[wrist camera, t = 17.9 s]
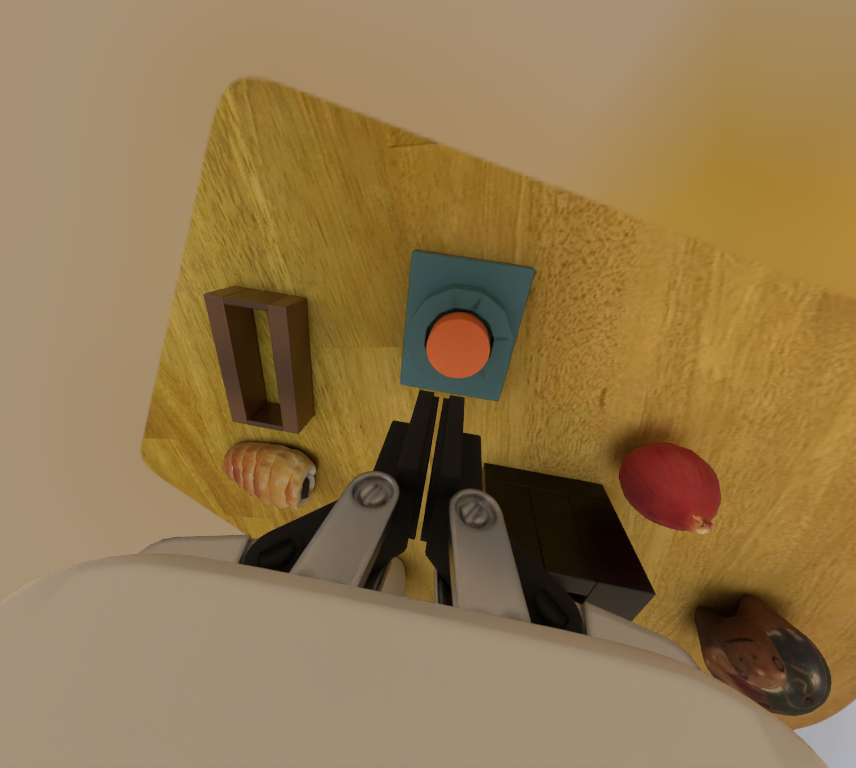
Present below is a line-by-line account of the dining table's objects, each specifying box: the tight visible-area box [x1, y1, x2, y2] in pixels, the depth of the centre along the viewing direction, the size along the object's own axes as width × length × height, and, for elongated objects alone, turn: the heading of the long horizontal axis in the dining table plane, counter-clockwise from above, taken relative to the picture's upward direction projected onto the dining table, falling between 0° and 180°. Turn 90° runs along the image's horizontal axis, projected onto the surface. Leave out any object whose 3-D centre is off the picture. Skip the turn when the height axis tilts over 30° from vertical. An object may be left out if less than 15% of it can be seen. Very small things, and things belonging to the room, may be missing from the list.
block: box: [400, 250, 535, 401], centre depth 22 cm, size 10×8×3 cm
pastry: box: [222, 442, 316, 510], centre depth 31 cm, size 9×7×4 cm
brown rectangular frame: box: [204, 286, 314, 434], centre depth 25 cm, size 11×6×3 cm, turn 173°
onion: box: [619, 443, 721, 535], centre depth 23 cm, size 6×6×8 cm
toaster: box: [482, 463, 656, 621], centre depth 28 cm, size 15×11×10 cm
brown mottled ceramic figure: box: [695, 595, 831, 716], centre depth 31 cm, size 10×15×8 cm, turn 49°
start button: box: [426, 312, 490, 378], centre depth 20 cm, size 4×4×2 cm
